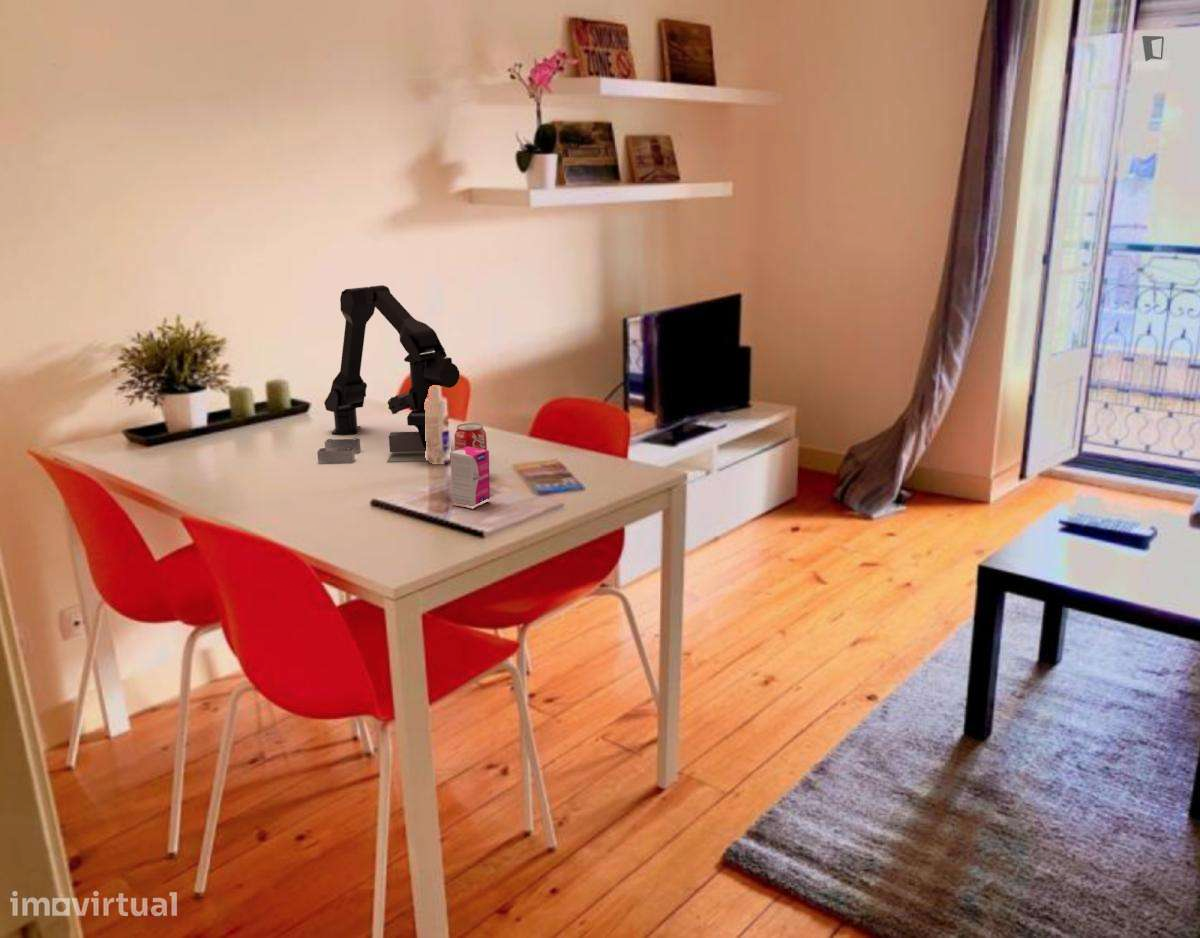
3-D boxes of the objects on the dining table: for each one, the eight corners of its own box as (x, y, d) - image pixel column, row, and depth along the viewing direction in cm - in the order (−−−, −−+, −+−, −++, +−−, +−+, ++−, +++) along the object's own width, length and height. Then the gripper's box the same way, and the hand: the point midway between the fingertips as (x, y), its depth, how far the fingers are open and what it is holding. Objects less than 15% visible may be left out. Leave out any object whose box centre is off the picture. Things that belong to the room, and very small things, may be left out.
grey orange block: (391, 448, 235) (390, 432, 233) (437, 446, 235) (436, 431, 234) (389, 452, 231) (388, 436, 230) (436, 451, 232) (435, 434, 231)
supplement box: (473, 510, 195) (471, 456, 192) (451, 505, 198) (448, 451, 195) (491, 502, 200) (489, 449, 196) (469, 497, 203) (466, 445, 199)
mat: (393, 449, 239) (393, 448, 238) (438, 448, 239) (438, 447, 239) (386, 462, 228) (386, 461, 228) (433, 461, 229) (433, 460, 229)
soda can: (491, 473, 219) (488, 422, 215) (484, 483, 212) (482, 430, 209) (460, 472, 220) (457, 421, 216) (453, 482, 213) (450, 429, 209)
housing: (327, 451, 238) (326, 438, 237) (360, 450, 238) (359, 437, 237) (318, 463, 227) (317, 450, 226) (352, 462, 228) (351, 449, 227)
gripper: (394, 374, 237) (398, 436, 242) (382, 391, 219) (387, 456, 224) (440, 373, 238) (443, 435, 242) (432, 390, 220) (436, 455, 224)
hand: (427, 445), depth 233 cm, fingers closed on grey orange block, 4 cm apart
